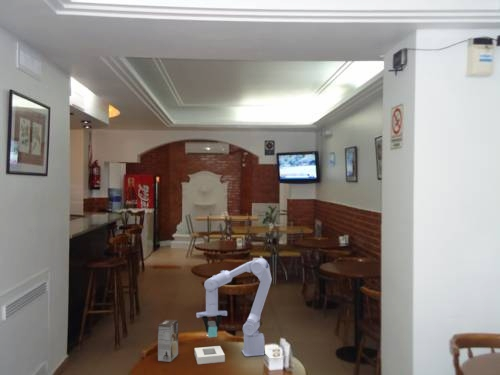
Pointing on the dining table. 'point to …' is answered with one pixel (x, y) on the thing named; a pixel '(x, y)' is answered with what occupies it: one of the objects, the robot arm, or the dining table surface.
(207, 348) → the block
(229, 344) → the dining table surface
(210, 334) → the plug
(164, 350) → the coffee box
